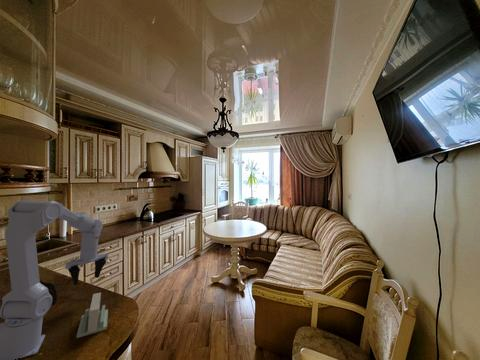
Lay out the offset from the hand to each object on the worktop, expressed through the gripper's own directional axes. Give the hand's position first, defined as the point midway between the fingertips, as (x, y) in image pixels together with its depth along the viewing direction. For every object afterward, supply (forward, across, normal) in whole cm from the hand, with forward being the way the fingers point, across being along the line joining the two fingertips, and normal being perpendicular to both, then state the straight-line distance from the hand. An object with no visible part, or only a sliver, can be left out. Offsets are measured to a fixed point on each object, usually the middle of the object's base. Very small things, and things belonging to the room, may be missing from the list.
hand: (86, 280), depth 80 cm
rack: (+9, -4, -17) cm, 20 cm away
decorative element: (+10, -7, +21) cm, 24 cm away
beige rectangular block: (+8, -4, -17) cm, 19 cm away
